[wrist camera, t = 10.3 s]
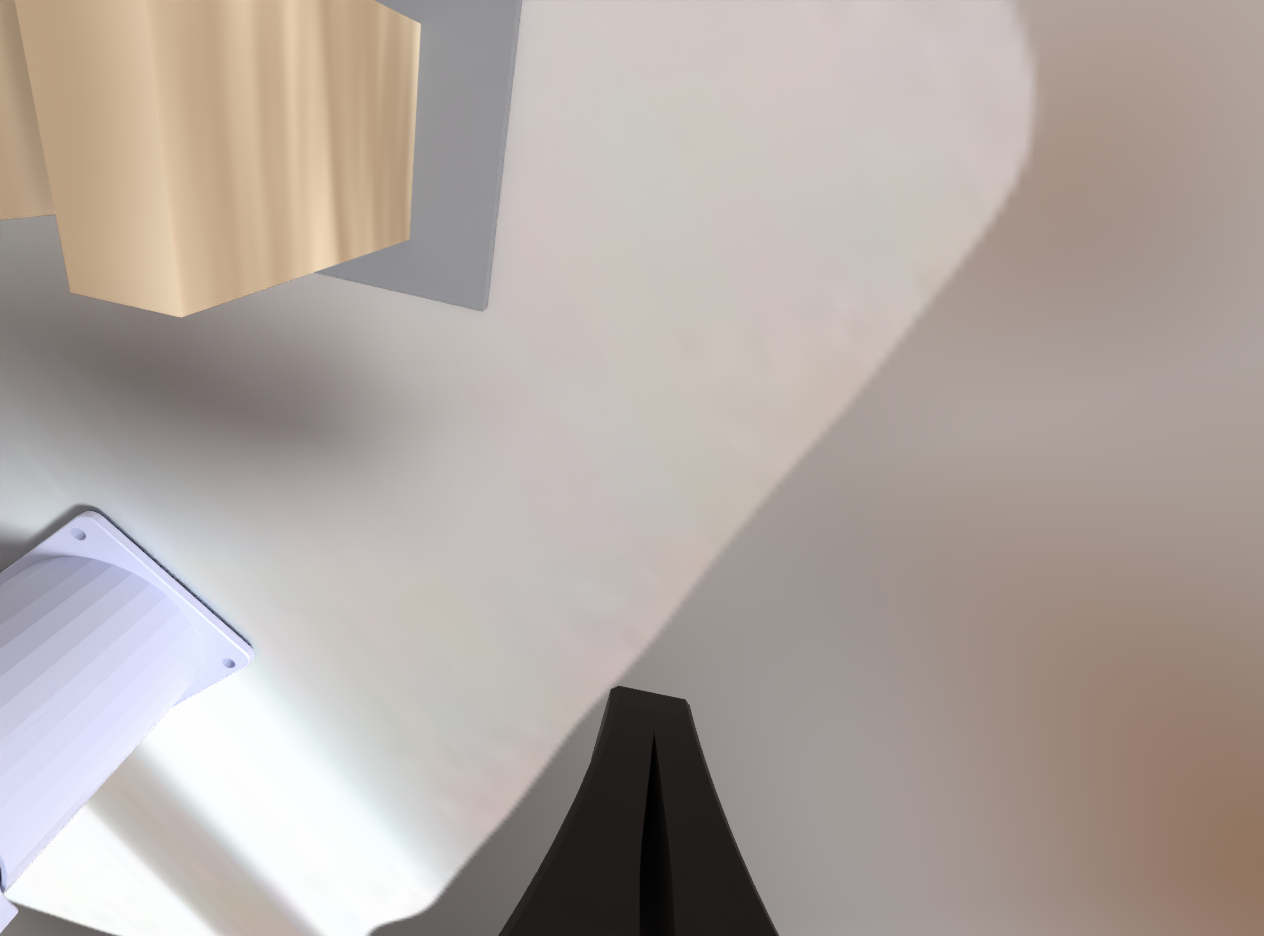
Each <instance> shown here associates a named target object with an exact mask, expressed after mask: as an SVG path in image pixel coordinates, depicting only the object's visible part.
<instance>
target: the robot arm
mask: <svg viewBox="0 0 1264 936" xmlns="http://www.w3.org/2000/svg"><path fill="white" fill-rule="evenodd" d="M254 657H255V653H254V650H253V649H252V648H251V647H250V646H249V645H248V644H247V643H246V642H245V641H243V640H242V639H241V638H240V637H239V636H238V635H237V634H236V633H234V632H233V631H232V630H231V629H230V628H229V627H228V626H226V625H225V624H224V623H223V622H222V621H221V620H220V619H219V618H217V617H216V616H215V615H214V614H213V613H212V612H211V611H210V610H208V609H207V608H206V607H205V606H204V605H203V604H202V603H200V602H199V601H198V600H197V599H196V598H195V597H194V596H193V595H191V594H190V593H189V592H188V591H187V590H186V589H185V588H184V587H182V586H181V585H180V584H179V583H178V582H177V581H176V580H174V579H173V578H172V577H171V576H170V575H169V574H168V573H167V572H165V571H164V570H163V569H162V568H161V567H160V566H159V565H157V564H156V563H155V562H154V561H153V560H152V559H151V558H150V557H148V556H147V555H146V554H145V553H144V552H143V551H142V550H141V549H139V548H138V547H137V546H136V545H135V544H134V543H133V542H131V541H130V540H129V539H128V538H127V537H126V536H125V535H124V534H122V533H121V532H120V531H119V530H118V529H117V528H116V527H115V526H113V525H112V524H111V523H110V522H109V521H108V520H107V519H105V518H104V517H103V516H102V515H100V514H99V513H96V512H93V511H86V512H83V513H81V514H80V515H78V516H77V517H75V518H74V519H72V520H71V521H70V522H68V523H67V524H66V525H64V526H63V527H62V528H60V529H59V530H58V531H56V532H55V533H54V534H52V535H51V536H49V537H48V538H47V539H45V540H44V541H43V542H41V543H40V544H39V545H37V546H36V547H35V548H33V549H32V550H31V551H29V552H28V553H27V554H25V555H24V556H23V557H21V558H20V559H19V560H17V561H16V562H14V563H13V564H12V565H10V566H9V567H8V568H6V569H5V570H4V571H2V572H1V573H0V933H1V931H2V930H3V929H4V928H5V927H6V926H7V925H8V923H9V922H10V921H11V920H12V919H13V918H14V916H15V915H16V914H17V913H18V909H17V908H16V907H15V906H14V905H13V904H12V903H11V902H9V900H8V899H7V898H6V897H5V896H4V893H5V892H6V891H7V890H8V889H9V888H10V887H11V885H12V884H13V883H14V882H15V881H16V880H17V879H18V878H19V877H20V875H21V874H22V873H23V872H24V871H25V870H26V869H27V868H28V867H29V865H30V864H31V863H32V862H33V861H34V860H35V859H36V858H37V857H38V855H39V854H40V853H41V852H42V851H43V850H44V849H45V848H46V847H47V845H48V844H49V843H50V842H51V841H52V840H53V839H54V838H55V836H56V835H57V834H58V833H59V832H60V831H61V830H62V829H63V828H64V826H65V825H66V824H67V823H68V822H69V821H70V820H71V819H72V818H73V816H74V815H75V814H76V813H77V812H78V811H79V810H80V809H81V808H82V806H83V805H84V804H85V803H86V802H87V801H88V800H89V799H90V798H91V796H92V795H93V794H94V793H95V792H96V791H97V790H98V789H99V788H100V786H101V785H102V784H103V783H104V782H105V781H106V780H107V779H108V777H109V776H110V775H111V774H112V773H113V772H114V771H115V770H116V769H117V767H118V766H119V765H120V764H121V763H122V762H123V761H124V760H125V759H126V757H127V756H128V755H129V754H130V753H131V752H132V751H133V750H134V749H135V747H136V746H137V745H138V744H139V743H140V742H141V741H142V740H143V739H144V737H145V736H146V735H147V734H148V733H149V732H150V731H151V730H152V729H153V727H154V726H155V725H156V724H157V723H158V722H159V721H160V720H161V719H162V717H163V716H164V715H165V714H166V713H167V712H168V711H169V710H170V708H172V707H174V706H176V705H177V704H179V703H181V702H183V701H185V700H186V699H188V698H190V697H192V696H194V695H195V694H197V693H199V692H201V691H203V690H204V689H206V688H208V687H210V686H212V685H213V684H215V683H217V682H219V681H221V680H223V679H224V678H226V677H228V676H230V675H232V674H233V673H235V672H237V671H239V670H241V669H242V668H244V667H246V666H248V665H249V664H250V663H251V661H252V660H253V659H254ZM499 936H779V935H778V933H777V931H776V929H775V927H774V925H773V923H772V921H771V919H770V917H769V915H768V913H767V911H766V909H765V906H764V904H763V902H762V900H761V898H760V896H759V894H758V892H757V889H756V887H755V885H754V883H753V881H752V878H751V876H750V874H749V872H748V869H747V867H746V865H745V862H744V860H743V858H742V856H741V853H740V851H739V849H738V846H737V844H736V842H735V839H734V837H733V834H732V832H731V829H730V827H729V824H728V821H727V819H726V816H725V813H724V811H723V808H722V806H721V803H720V801H719V798H718V795H717V793H716V790H715V787H714V784H713V782H712V778H711V776H710V773H709V770H708V767H707V764H706V761H705V758H704V755H703V751H702V748H701V745H700V742H699V738H698V735H697V732H696V728H695V724H694V721H693V717H692V713H691V709H690V705H689V704H688V703H687V701H686V700H685V699H680V698H675V697H671V696H666V695H661V694H656V693H651V692H646V691H641V690H637V689H631V688H627V687H622V686H617V687H615V688H612V689H611V691H610V694H609V698H608V701H607V705H606V709H605V712H604V716H603V719H602V722H601V726H600V730H599V733H598V737H597V740H596V744H595V747H594V751H593V754H592V759H591V763H590V765H589V768H588V770H587V772H586V775H585V777H584V779H583V782H582V784H581V787H580V789H579V791H578V794H577V795H576V798H575V800H574V802H573V804H572V806H571V808H570V810H569V812H568V814H567V816H566V818H565V820H564V822H563V824H562V826H561V828H560V830H559V832H558V834H557V836H556V838H555V840H554V842H553V843H552V846H551V847H550V849H549V851H548V853H547V855H546V856H545V858H544V860H543V862H542V864H541V865H540V867H539V869H538V871H537V873H536V874H535V876H534V878H533V879H532V881H531V883H530V885H529V886H528V888H527V890H526V892H525V893H524V895H523V897H522V898H521V900H520V902H519V903H518V905H517V907H516V908H515V910H514V912H513V913H512V915H511V916H510V918H509V919H508V921H507V923H506V924H505V926H504V928H503V929H502V931H501V932H500V934H499Z"/></svg>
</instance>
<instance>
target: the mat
mask: <svg viewBox="0 0 1264 936" xmlns="http://www.w3.org/2000/svg"><path fill="white" fill-rule="evenodd" d="M374 1H376V2H378V3H380V4H382V5H384V6H386V7H388V8H390V9H392V10H394V11H396V12H398V13H400V14H402V15H404V16H406V17H408V18H410V19H412V20H414V21H416V22H418V23H420V24H421V31H420V50H419V69H418V88H417V107H416V126H415V144H414V163H413V182H412V201H411V220H410V239H409V240H407V241H404V242H401V243H398V244H396V245H393V246H390V247H387V248H384V249H381V250H378V251H375V252H372V253H369V254H366V255H363V256H360V257H357V258H354V259H352V260H349V261H346V262H343V263H340V264H337V265H334V266H331V267H328V268H325V269H322V270H319V271H316V272H314V273H319V274H323V275H327V276H332V277H336V278H340V279H345V280H349V281H353V282H357V283H362V284H366V285H370V286H375V287H379V288H383V289H388V290H392V291H396V292H401V293H405V294H409V295H414V296H418V297H422V298H426V299H431V300H435V301H439V302H444V303H448V304H452V305H457V306H461V307H465V308H470V309H474V310H478V311H482V312H483V311H484V310H485V309H486V308H487V305H488V296H489V288H490V279H491V270H492V261H493V252H494V243H495V234H496V225H497V217H498V208H499V199H500V190H501V181H502V172H503V163H504V154H505V146H506V137H507V128H508V119H509V110H510V101H511V92H512V83H513V75H514V66H515V57H516V48H517V39H518V30H519V21H520V12H521V4H522V0H374Z"/></svg>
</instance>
